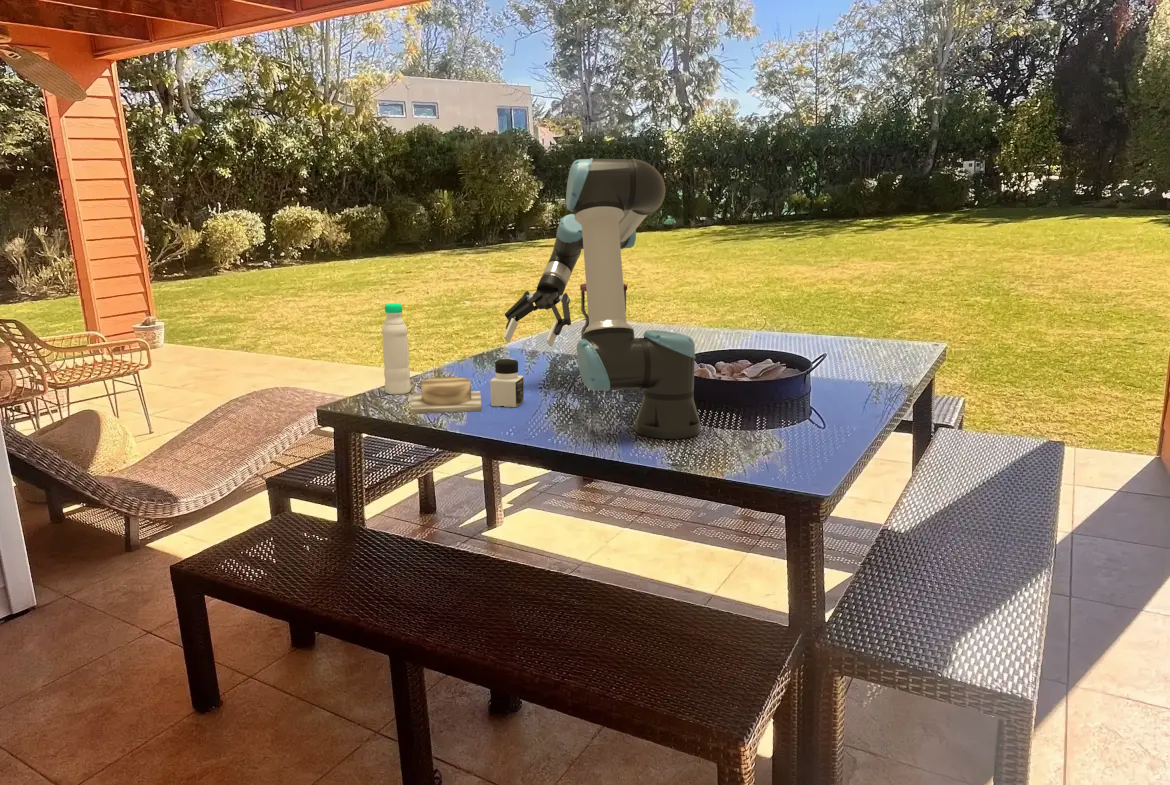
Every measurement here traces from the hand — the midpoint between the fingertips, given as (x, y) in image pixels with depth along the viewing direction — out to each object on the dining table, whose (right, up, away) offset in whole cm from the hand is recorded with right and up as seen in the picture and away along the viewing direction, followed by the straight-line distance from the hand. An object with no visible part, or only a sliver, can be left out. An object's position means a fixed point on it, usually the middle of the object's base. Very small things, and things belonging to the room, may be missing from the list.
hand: (527, 341), depth 226 cm
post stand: (-21, -17, -6) cm, 28 cm away
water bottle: (-37, -14, +8) cm, 40 cm away
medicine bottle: (-5, -17, -6) cm, 19 cm away
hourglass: (+22, -2, +60) cm, 64 cm away
